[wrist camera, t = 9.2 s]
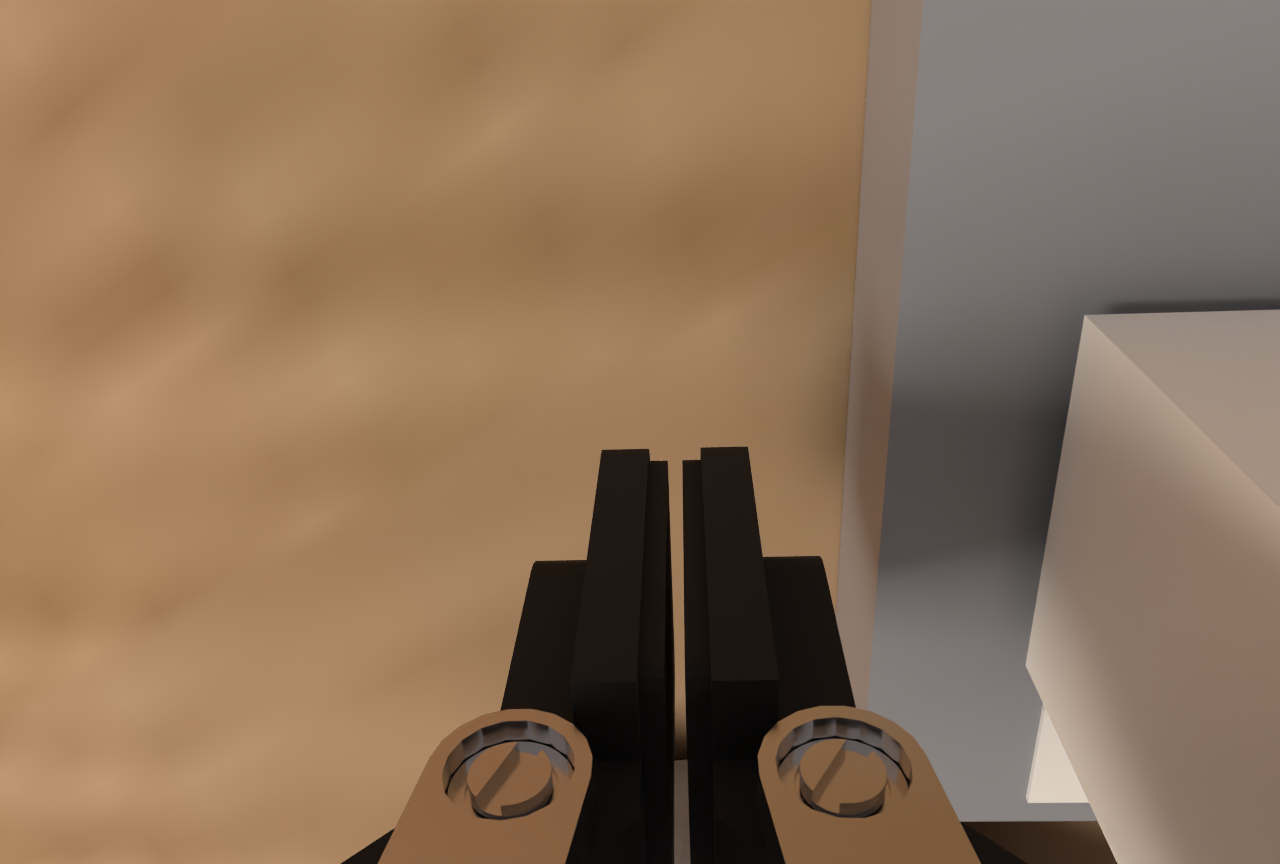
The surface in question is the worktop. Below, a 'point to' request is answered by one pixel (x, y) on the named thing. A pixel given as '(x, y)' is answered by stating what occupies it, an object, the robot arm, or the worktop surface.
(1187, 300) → the breaker panel
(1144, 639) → the block
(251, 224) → the worktop surface
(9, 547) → the worktop surface
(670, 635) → the robot arm
